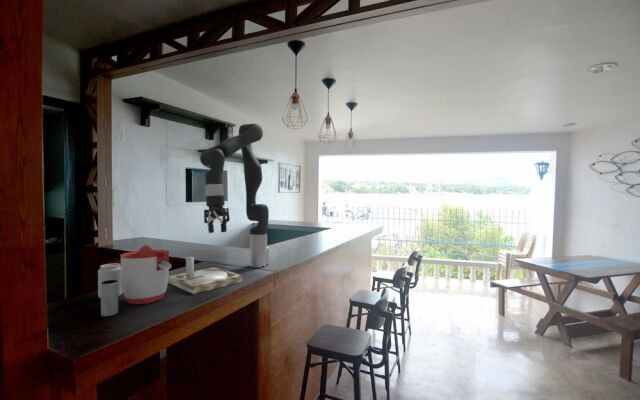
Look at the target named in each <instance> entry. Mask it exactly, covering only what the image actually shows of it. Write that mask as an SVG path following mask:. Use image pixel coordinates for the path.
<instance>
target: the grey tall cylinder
mask: <svg viewBox="0 0 640 400" xmlns="http://www.w3.org/2000/svg"><path fill="white" fill-rule="evenodd" d="M118 313H119V297H118V280H107V281H103V282H101V298H100V315H101V317H111V316H115V315H116V314H118Z"/></svg>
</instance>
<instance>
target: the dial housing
mask: <svg viewBox="0 0 640 400" xmlns="http://www.w3.org/2000/svg"><path fill="white" fill-rule="evenodd" d="M200 271H223V272H226V273H227V278H223V279H218V280H214V281H209V282H205V283H200V284H192V283H190V282H188V281H185V280H183V277H184V276H185V275H186V272H183V273H177V274H172V275H169V278H168V284H170V285H172V286H174V287H177V288H179V289H180V290H183V291H185V292H187V293H190V294H192V295H196V294H200V293H202V292H208V291H211V290H215V289H218V288H219V289H220V288H224V287H228V286H232V285H236V284H241V283H242V282H243V275H242V274H241V273H240V274H239V273H235V272H232V271H229V270H226V269H222V268H220V267H216V266H215V267H210V268H209V267H208V268H205V269H199V270H194V272H200Z"/></svg>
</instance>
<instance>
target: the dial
mask: <svg viewBox="0 0 640 400" xmlns="http://www.w3.org/2000/svg"><path fill="white" fill-rule="evenodd" d="M194 271H195V257H194V256H188V257H187V256H186V257H185V273H186V275H185V276H184V277H183V280H185V281H188V282H190V283H192V284H200V283H205V282H209V281H214V280H218V279H223V278H227V273H226V272H223V271H200V272H194Z"/></svg>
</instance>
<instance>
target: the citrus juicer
mask: <svg viewBox="0 0 640 400" xmlns="http://www.w3.org/2000/svg"><path fill="white" fill-rule="evenodd" d="M169 256H170V251H169V250H166V249H152V247H150V246H149V245H147V244H144V245H142V246H141V248H139V249H138V250H134V251H128V252H123V253H122V254H120V255H119V257H120V266H121V286H122V290H123V293H122V294H123V295H124V299H125V300H126V303H127V304H130V305H149V304H150V303H154V302H157V301H160V300H162V299H164V297H165V295H166V292H167V288H168V284H169V276H170V275H169V272H170V271H169V270H170V269H171V268H172V264H171V263H170V261H169V260H170V257H169Z"/></svg>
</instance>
